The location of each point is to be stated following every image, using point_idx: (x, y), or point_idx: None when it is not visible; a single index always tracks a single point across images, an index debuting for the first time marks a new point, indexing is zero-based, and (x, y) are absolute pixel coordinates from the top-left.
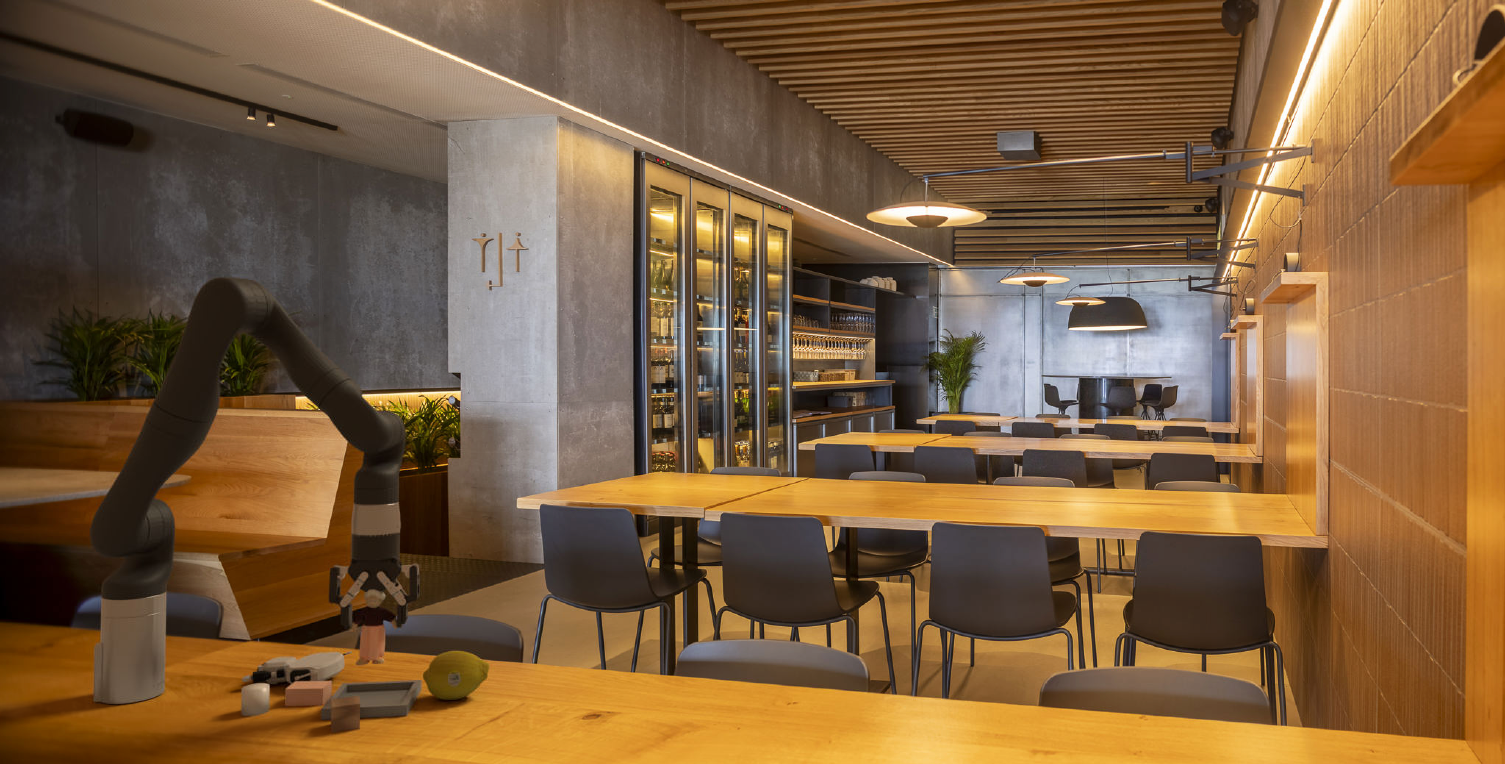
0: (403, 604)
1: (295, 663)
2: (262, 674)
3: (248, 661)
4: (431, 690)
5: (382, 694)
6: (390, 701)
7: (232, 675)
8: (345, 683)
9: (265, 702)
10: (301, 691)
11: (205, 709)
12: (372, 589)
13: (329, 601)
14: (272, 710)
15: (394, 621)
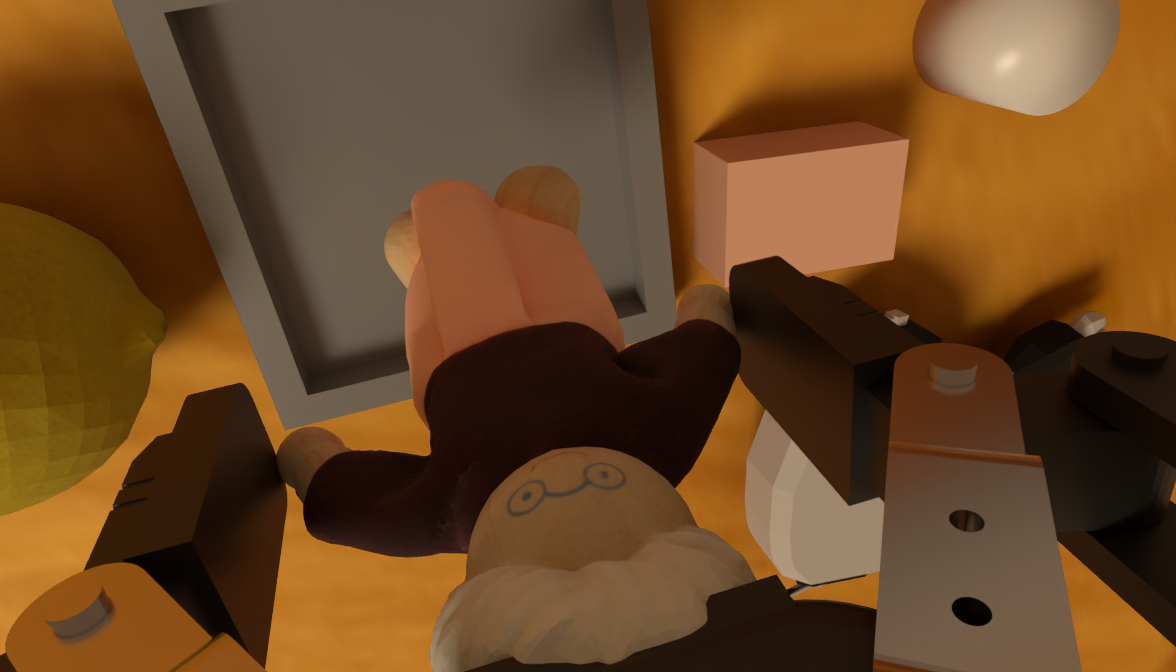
0: (68, 581)
1: None
2: (1045, 349)
3: (1092, 573)
4: (63, 222)
5: None
6: (339, 173)
7: None
8: (664, 330)
9: (955, 18)
10: (827, 144)
11: (1161, 58)
12: (640, 655)
13: (1153, 338)
14: (898, 54)
15: (309, 465)
